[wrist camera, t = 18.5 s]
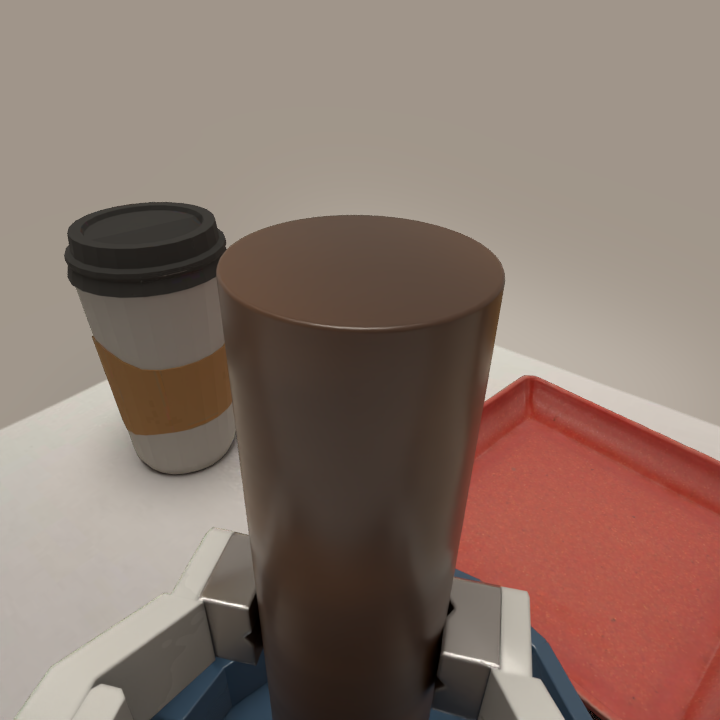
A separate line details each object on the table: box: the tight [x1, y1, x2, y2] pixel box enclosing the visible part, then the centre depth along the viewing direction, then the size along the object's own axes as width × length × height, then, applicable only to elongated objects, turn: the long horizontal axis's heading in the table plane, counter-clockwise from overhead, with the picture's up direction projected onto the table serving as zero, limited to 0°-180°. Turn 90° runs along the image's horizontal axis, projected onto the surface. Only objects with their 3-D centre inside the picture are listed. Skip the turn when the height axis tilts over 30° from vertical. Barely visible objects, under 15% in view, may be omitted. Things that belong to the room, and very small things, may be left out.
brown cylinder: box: [216, 215, 505, 720], centre depth 11 cm, size 3×3×16 cm
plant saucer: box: [455, 375, 720, 720], centre depth 30 cm, size 18×18×3 cm
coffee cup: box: [64, 202, 236, 474], centre depth 33 cm, size 8×8×15 cm
